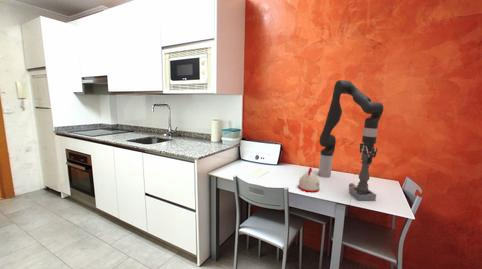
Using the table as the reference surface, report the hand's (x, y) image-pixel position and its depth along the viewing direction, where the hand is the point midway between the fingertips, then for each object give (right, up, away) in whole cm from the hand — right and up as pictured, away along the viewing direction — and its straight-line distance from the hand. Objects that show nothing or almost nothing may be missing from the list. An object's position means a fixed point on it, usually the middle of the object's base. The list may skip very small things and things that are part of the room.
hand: (366, 161), depth 138 cm
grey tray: (-1, -23, +8) cm, 24 cm away
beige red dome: (-31, -21, +15) cm, 40 cm away
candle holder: (-1, -19, +4) cm, 20 cm away
